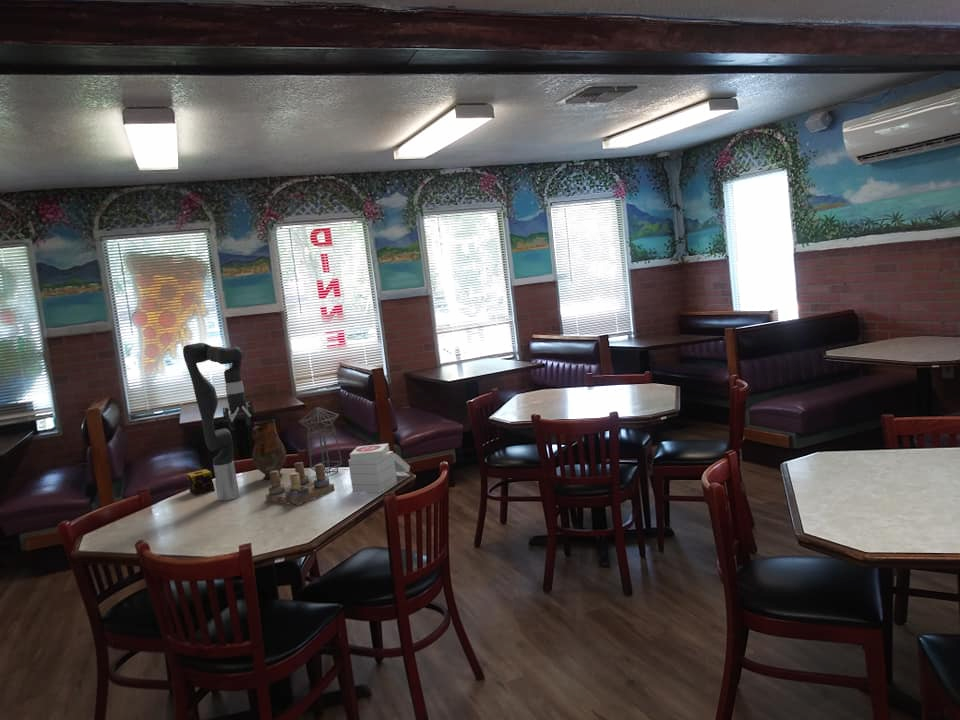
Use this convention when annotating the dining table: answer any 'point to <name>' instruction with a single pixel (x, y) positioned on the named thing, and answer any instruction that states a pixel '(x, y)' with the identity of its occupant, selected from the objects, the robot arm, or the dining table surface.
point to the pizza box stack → (374, 468)
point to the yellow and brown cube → (200, 482)
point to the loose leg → (295, 481)
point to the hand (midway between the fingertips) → (240, 427)
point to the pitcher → (267, 448)
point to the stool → (307, 488)
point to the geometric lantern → (322, 436)
